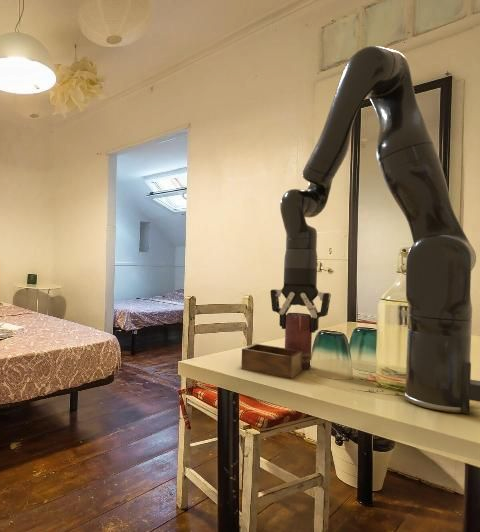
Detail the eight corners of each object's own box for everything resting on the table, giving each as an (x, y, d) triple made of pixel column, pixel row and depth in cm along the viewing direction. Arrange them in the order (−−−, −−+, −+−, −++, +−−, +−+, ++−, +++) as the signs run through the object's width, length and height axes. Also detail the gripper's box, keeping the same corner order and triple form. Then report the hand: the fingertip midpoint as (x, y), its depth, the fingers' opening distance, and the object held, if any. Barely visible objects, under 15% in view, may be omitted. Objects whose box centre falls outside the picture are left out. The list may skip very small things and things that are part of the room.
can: (288, 369, 101) (289, 314, 101) (281, 362, 107) (283, 311, 107) (314, 371, 100) (316, 316, 99) (306, 364, 106) (308, 312, 105)
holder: (301, 370, 100) (302, 350, 100) (291, 378, 93) (291, 357, 93) (254, 362, 108) (255, 343, 108) (241, 368, 101) (241, 348, 100)
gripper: (266, 265, 105) (264, 328, 105) (329, 267, 95) (327, 336, 96) (275, 265, 111) (273, 325, 111) (335, 267, 101) (333, 332, 101)
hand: (298, 330), depth 103 cm, fingers closed on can, 6 cm apart
